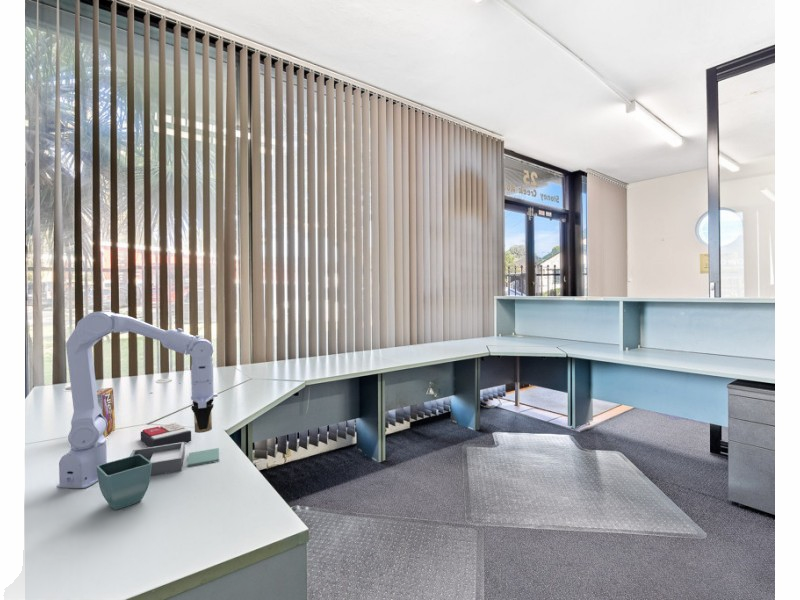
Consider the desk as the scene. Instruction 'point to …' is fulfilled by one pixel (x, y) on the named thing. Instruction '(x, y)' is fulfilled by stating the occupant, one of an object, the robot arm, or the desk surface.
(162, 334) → the robot arm
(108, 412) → the candy box
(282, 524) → the desk surface
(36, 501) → the desk surface
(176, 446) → the organiser box
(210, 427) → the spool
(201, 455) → the mat
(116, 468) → the flower pot
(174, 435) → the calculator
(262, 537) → the desk surface
